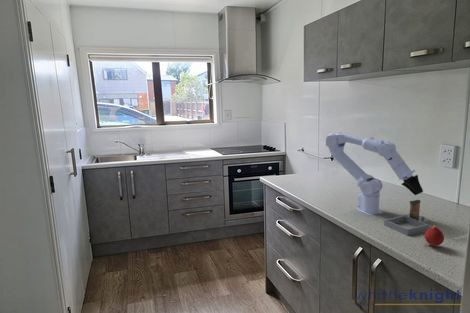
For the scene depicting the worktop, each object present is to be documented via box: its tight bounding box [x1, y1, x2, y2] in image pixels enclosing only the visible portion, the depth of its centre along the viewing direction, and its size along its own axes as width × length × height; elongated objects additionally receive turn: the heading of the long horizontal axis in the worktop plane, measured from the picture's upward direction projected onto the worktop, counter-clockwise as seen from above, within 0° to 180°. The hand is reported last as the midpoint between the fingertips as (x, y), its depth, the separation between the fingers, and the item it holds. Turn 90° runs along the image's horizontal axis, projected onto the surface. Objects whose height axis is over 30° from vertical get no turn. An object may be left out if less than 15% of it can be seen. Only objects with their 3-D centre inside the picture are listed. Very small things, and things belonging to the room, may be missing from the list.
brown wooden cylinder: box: [409, 199, 421, 220], centre depth 134 cm, size 4×5×8 cm
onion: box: [423, 225, 445, 248], centre depth 110 cm, size 6×6×8 cm
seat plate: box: [397, 213, 431, 223], centre depth 135 cm, size 9×9×2 cm
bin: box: [383, 215, 430, 237], centre depth 125 cm, size 11×11×3 cm
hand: (419, 193), depth 128 cm, fingers open, 7 cm apart
